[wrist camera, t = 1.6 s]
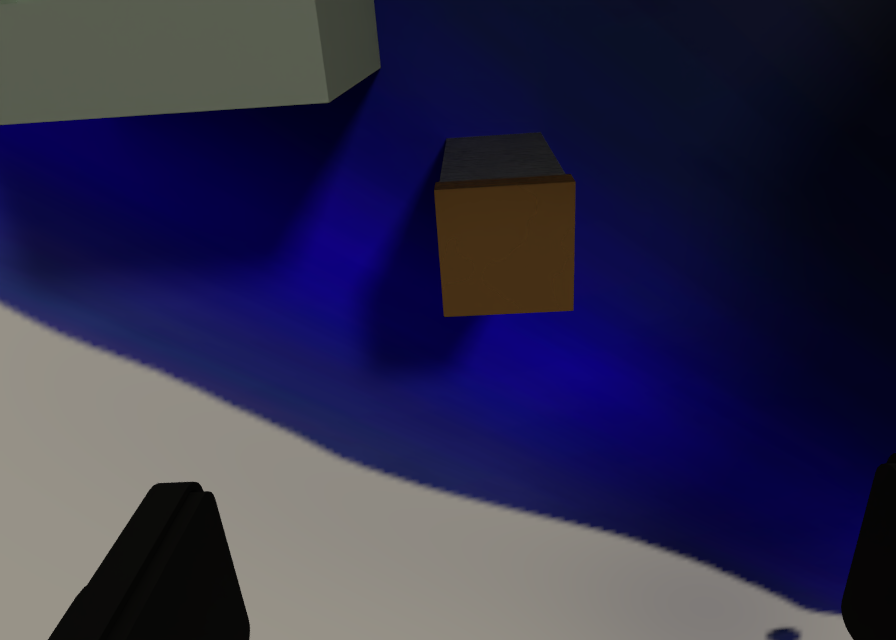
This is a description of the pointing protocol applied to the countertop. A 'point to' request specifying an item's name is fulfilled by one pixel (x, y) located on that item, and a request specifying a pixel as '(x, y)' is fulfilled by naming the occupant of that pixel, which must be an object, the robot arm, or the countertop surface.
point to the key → (504, 227)
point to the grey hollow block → (178, 55)
